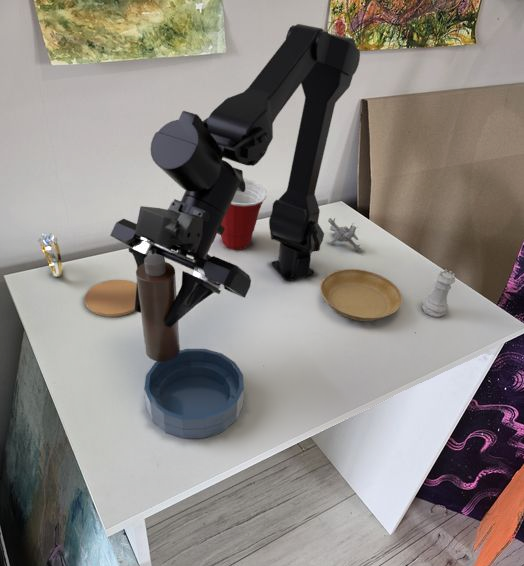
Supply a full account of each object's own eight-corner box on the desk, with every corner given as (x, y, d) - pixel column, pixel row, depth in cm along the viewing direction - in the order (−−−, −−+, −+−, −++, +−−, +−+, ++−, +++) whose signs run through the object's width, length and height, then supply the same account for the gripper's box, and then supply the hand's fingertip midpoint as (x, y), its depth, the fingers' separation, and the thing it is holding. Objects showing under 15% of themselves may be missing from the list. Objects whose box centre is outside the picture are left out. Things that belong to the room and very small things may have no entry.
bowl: (135, 385, 71) (132, 363, 68) (219, 361, 76) (220, 339, 73) (165, 454, 63) (163, 432, 60) (257, 422, 68) (260, 400, 65)
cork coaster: (79, 289, 87) (79, 286, 87) (135, 277, 91) (135, 275, 90) (92, 322, 81) (92, 319, 80) (152, 308, 84) (151, 306, 84)
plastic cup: (244, 263, 97) (247, 206, 89) (200, 245, 101) (199, 189, 93) (272, 241, 104) (277, 187, 96) (230, 225, 108) (232, 171, 100)
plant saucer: (380, 340, 83) (384, 328, 81) (303, 307, 88) (305, 296, 86) (409, 298, 92) (413, 287, 90) (339, 271, 97) (341, 260, 96)
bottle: (143, 342, 68) (132, 251, 59) (176, 337, 70) (170, 247, 60) (148, 364, 65) (137, 272, 55) (182, 358, 67) (177, 267, 57)
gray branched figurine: (358, 235, 109) (374, 242, 101) (340, 255, 110) (354, 264, 102) (328, 204, 105) (342, 208, 97) (309, 225, 106) (322, 232, 98)
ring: (70, 282, 88) (61, 243, 83) (51, 286, 87) (41, 247, 81) (59, 263, 92) (50, 224, 87) (41, 267, 91) (31, 228, 86)
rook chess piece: (446, 319, 88) (462, 283, 83) (421, 315, 89) (435, 278, 83) (444, 305, 91) (459, 269, 86) (420, 301, 92) (433, 264, 87)
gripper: (110, 155, 58) (55, 275, 58) (241, 202, 51) (179, 338, 51) (159, 195, 68) (112, 297, 68) (274, 239, 62) (221, 351, 62)
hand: (152, 318), depth 62 cm, fingers closed on bottle, 4 cm apart
